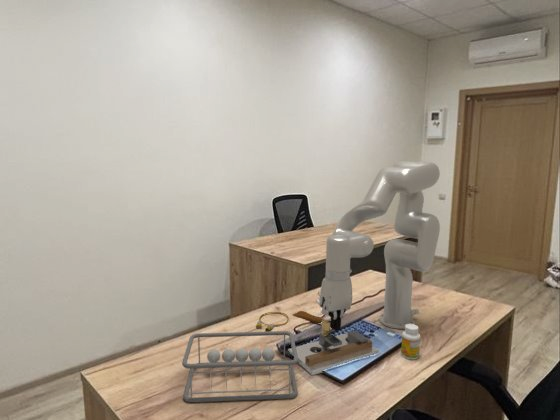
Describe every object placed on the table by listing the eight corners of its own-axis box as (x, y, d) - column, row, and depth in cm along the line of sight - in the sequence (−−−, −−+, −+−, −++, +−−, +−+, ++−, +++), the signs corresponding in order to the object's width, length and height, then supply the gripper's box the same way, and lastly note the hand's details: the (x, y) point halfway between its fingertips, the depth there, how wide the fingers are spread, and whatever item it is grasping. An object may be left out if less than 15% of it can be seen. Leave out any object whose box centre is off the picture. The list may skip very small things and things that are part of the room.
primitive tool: (291, 316, 156) (291, 307, 156) (301, 312, 160) (301, 303, 159) (330, 332, 143) (330, 323, 142) (339, 327, 146) (340, 318, 146)
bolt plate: (350, 336, 139) (351, 323, 138) (378, 354, 127) (379, 341, 126) (287, 353, 127) (288, 340, 126) (312, 375, 115) (312, 360, 114)
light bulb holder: (326, 343, 130) (327, 318, 129) (341, 354, 123) (342, 328, 122) (318, 345, 129) (319, 320, 127) (333, 356, 122) (334, 330, 121)
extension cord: (244, 323, 149) (244, 318, 149) (275, 312, 160) (275, 307, 160) (265, 334, 140) (265, 329, 140) (297, 321, 151) (297, 316, 151)
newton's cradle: (191, 365, 120) (181, 403, 102) (190, 332, 118) (180, 365, 100) (291, 362, 122) (298, 398, 104) (292, 330, 120) (299, 361, 103)
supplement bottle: (398, 351, 129) (400, 322, 127) (414, 350, 129) (416, 322, 128) (404, 360, 124) (406, 330, 122) (421, 359, 124) (423, 330, 123)
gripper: (348, 268, 133) (346, 320, 136) (311, 274, 126) (309, 329, 129) (363, 274, 127) (361, 329, 129) (324, 281, 120) (323, 339, 122)
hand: (335, 329), depth 129 cm, fingers closed
